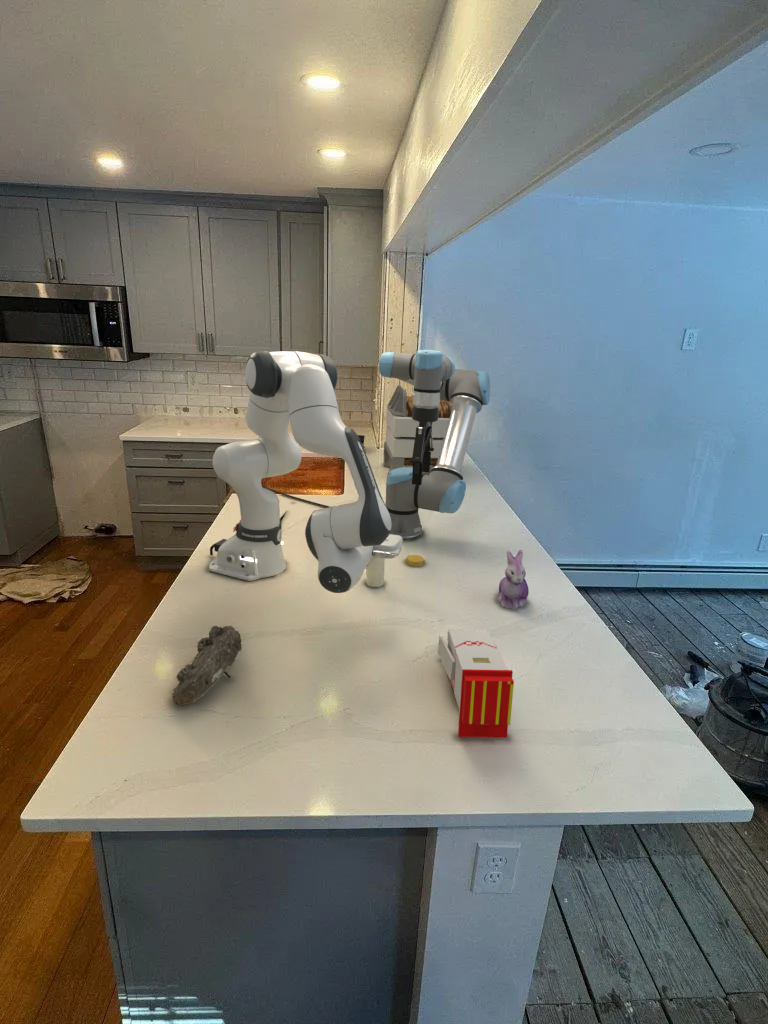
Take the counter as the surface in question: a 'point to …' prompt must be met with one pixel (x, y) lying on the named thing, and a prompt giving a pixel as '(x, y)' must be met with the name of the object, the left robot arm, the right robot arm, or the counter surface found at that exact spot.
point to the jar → (375, 572)
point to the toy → (478, 682)
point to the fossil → (207, 664)
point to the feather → (282, 516)
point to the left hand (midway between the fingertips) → (367, 530)
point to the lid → (415, 560)
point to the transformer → (409, 430)
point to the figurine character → (361, 439)
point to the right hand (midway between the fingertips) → (421, 478)
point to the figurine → (513, 583)
